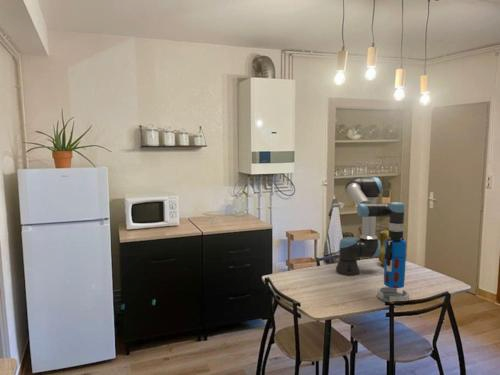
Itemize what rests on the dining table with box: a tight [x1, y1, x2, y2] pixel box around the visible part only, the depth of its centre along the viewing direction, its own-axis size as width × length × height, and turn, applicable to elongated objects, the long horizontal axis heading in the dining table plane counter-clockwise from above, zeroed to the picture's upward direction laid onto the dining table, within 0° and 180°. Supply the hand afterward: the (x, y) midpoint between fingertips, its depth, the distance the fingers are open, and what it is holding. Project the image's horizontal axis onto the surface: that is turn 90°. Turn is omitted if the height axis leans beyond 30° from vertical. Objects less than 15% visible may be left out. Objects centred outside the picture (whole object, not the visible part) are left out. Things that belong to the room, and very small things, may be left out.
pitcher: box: [377, 230, 391, 268], centre depth 277 cm, size 17×19×25 cm
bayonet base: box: [376, 285, 410, 303], centre depth 217 cm, size 17×17×4 cm
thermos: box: [383, 239, 407, 289], centre depth 215 cm, size 11×11×25 cm
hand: (394, 269), depth 216 cm, fingers closed on thermos, 11 cm apart
